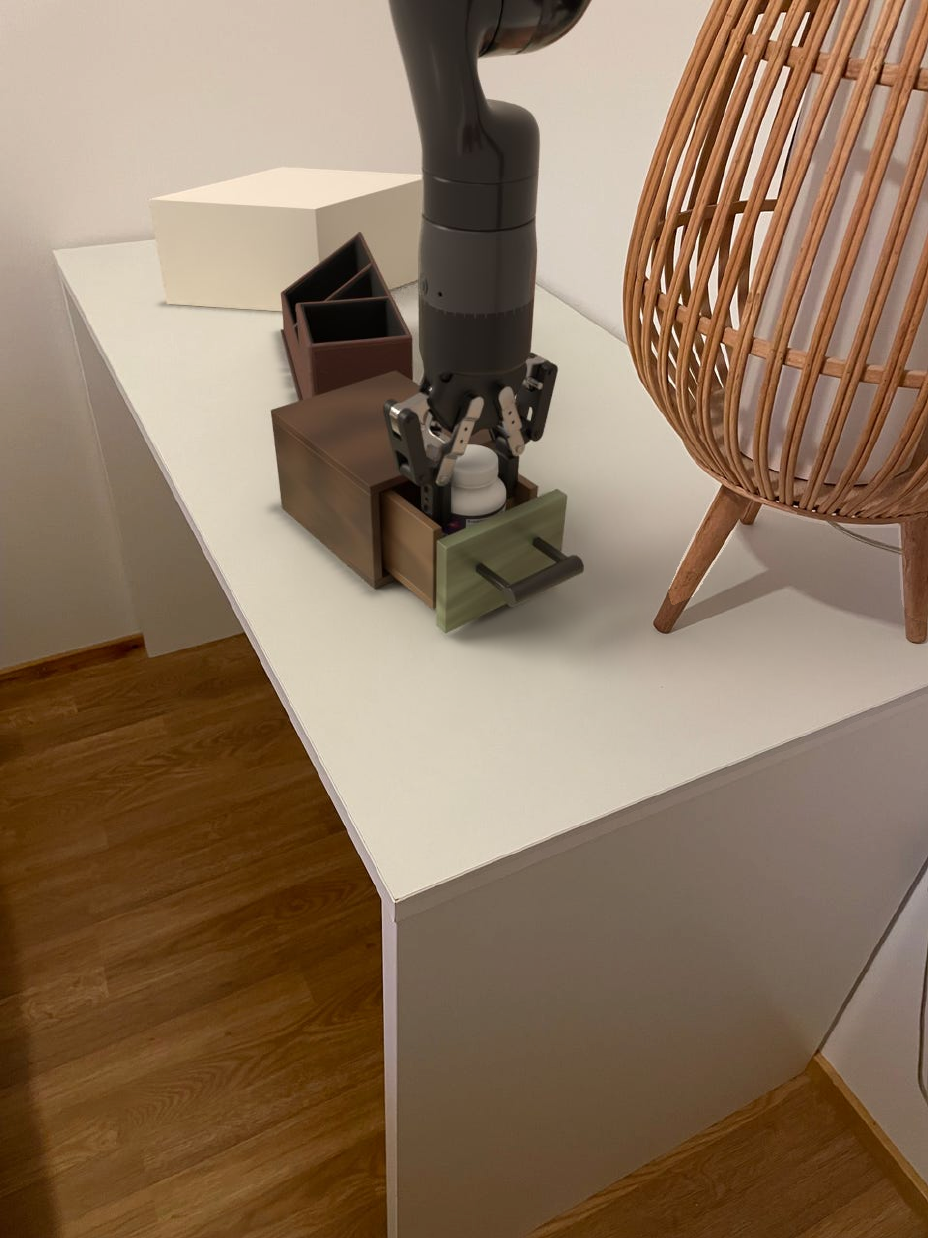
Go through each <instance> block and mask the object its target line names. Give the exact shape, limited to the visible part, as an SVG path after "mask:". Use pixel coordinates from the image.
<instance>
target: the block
mask: <svg viewBox="0 0 928 1238" xmlns="http://www.w3.org/2000/svg"><path fill="white" fill-rule="evenodd" d="M148 206H149V211H150V217H151V222H152V228H153V233H154V238H155V243H156V250H157V256H158V260H159V266H160V267H159V268H160V272H161V273H160V274H161V278H162V284H163V289H164V295H165V301H166V305H178V306H194V307H206V308H207V307H208V308H222V309H223V308H224V309H237V310H238V309H239V310H252V311H253V310H254V311H268V312H269V311H270V312H282V302H281V292H282V291H284V290H285V289H286V288H287V287H289V286H290V285H291V284H293V283H294V282H295V281H297V280H298V279H299V278H301V277H302V276H303V275H305V274H306V273H307V272H309V271H310V270H311V269H313V268H314V267H315V266H316V265H318V264H319V263H320V262H322V261H323V260H324V259H326V258H327V257H328V256H330V255H331V254H332V253H333V252H335V251H336V250H337V249H339V248H340V247H341V246H342V245H344V244H345V243H346V242H347V241H349V240H350V239H351V238H353V237H354V236H355V235H356V234H357V233H358V232H361V233H362V235H363V237H364V239H365V241H366V243H367V245H368V247H369V249H370V252H371V254H372V256H373V258H374V260H375V262H376V264H377V266H378V268H379V271H380V273H381V275H382V277H383V279H384V281H385V283H386V285H387V287H388V289H389V291H391V290H394V289H396V288H399V287H402V286H405V285H407V284H409V283H413V282H416V281H418V246H419V237H420V230H421V217H422V174H416V173H401V172H400V173H399V172H398V173H397V172H396V173H395V172H383V171H382V172H380V171H378V172H377V171H363V170H361V171H360V170H344V169H325V168H309V167H308V168H307V167H289V166H288V167H287V166H280V167H276V168H273V169H269V170H268V169H267V170H264V171H260V172H256V173H251V174H247V175H244V176H243V175H242V176H239V177H235V178H231V179H227V180H223V181H218V182H213V183H210V184H206V185H202V186H198V187H193V188H190V189H185V190H182V191H181V190H180V191H176V192H173V193H169V194H165V195H164V194H163V195H161V196H156V197H153V198H149V199H148Z"/></svg>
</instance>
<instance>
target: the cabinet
mask: <svg viewBox="0 0 928 1238" xmlns="http://www.w3.org/2000/svg"><path fill="white" fill-rule="evenodd" d="M419 386H420V384H418V383H416V382H415V381H414V380H413V381H412V380H410V379H409V378H407V377H405V376H404V375H402V374H401V373H399V372H397V371H392V372H389V373H386V374H383V375H380V376H377V377H373V378H370V379H367V380H364V381H361V382H358V383H354V384H351V385H348V386H345V387H342V388H339V389H336V390H332V391H329V392H326V393H323V394H320V395H317V396H313V397H310V398H307V399H304V400H301V401H298V400H297V401H295V402H291V403H288V404H285V405H282V406H279V407H276V408H272V409H270V415H271V416H270V417H271V425H272V433H273V442H274V450H275V451H274V452H275V459H276V469H277V476H278V485H279V493H280V503H281V509H283V511H285V512H286V513H287V514H288V515H290V516H291V517H292V518H293V519H294V520H295V521H296V522H297V523H299V524H300V526H302V527H303V528H304V529H305V530H307V531H308V532H309V533H310V534H311V535H312V536H314V538H316V540H318V542H320V543H321V544H322V545H324V547H326V548H327V549H328V550H329V551H330V552H332V553H333V554H334V555H335V556H336V557H337V558H338V559H340V560H341V561H342V562H343V563H344V564H345V565H346V566H347V567H348V568H349V569H351V570H352V571H353V572H354V573H355V574H357V575H358V576H359V578H360V577H361V579H362V580H364V581H365V583H367V584H368V585H369V586H370V587H372V589H374V590H377V589H379V588H382V587H384V586H386V585H387V584H390V583H393V582H395V581H398V580H397V579H396V578H395V577H394V576H393V575H392V574H390V573H389V572H388V571H387V570H386V569H384V568H383V567H382V558H381V533H380V508H379V493H378V492H381V491H383V490H386V489H388V488H391V487H394V486H396V485H399V484H401V483H404V482H406V481H409V480H410V479H408V478H407V477H405V476H404V475H403V474H401V473H400V472H399V471H397V469H396V466H395V462H394V457H393V453H392V449H391V444H390V440H389V436H388V431H387V427H386V423H385V418H384V414H383V406H384V404H385V402H386V401H387V400H389V399H395V400H396V401H398V402H400V403H401V402H403V401H405V400H407V399H409V398H410V397H412V396H414V395H416V394H418V389H419ZM428 413H429V411H427V412H426V413H425V416H424V424H425V422H426V419H427V416H428ZM442 431H443V434H444V435H446V436H447V437H449V438H450V439H451V437H452V433H450V432H449V431H447V430H445V429H444V428H443V427H442ZM421 432H422V431H421ZM423 442H424V441H423ZM468 444H472V445H481V446H484V447H487V448H489V449H490V448H492V447H494V446H495V443H493V441H492V439H491V436H490V434H489V431H488V429H482V430H480V431H479V432H477V433H476V434H474V435H473V436H470V438H469V441H468ZM439 458H440V450H439V452H438V455H437V458H436V461H435V462H436V463H437V464H438V461H439Z"/></svg>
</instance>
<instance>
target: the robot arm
mask: <svg viewBox="0 0 928 1238" xmlns="http://www.w3.org/2000/svg"><path fill="white" fill-rule="evenodd" d="M592 1H593V0H387V4H388V10H389V14H390V15H389V16H390V19H391V24H392V27H393V31H394V34H395V39H396V42H397V43H396V44H397V46H398V49H399V53H400V56H401V61H402V64H403V68H404V73H405V76H406V77H405V78H406V81H407V84H408V85H407V86H408V89H409V94H410V99H411V103H412V108H413V111H414V116H415V120H416V124H417V125H416V126H417V129H418V130H417V131H418V135H419V140H420V148H421V149H420V150H421V152H420V153H421V154H420V155H421V156H420V157H421V159H420V160H421V161H420V162H421V163H420V165H421V175H422V217H421V230H420V237H419V246H418V280H417V281H418V282H417V285H418V286H417V287H418V289H417V290H418V291H417V293H418V294H417V295H418V297H417V298H418V299H417V300H418V304H417V305H418V351H419V354H420V358H421V363H422V365H423V375H422V379H421V381H420V383H419V385H420V386H419V389H418V394H416V395H414V396H412V397H410V398H409V399H407V400H405V401H403V402H401V403H400V402H398V401H396V400H395V399H389V400H387V401H386V402H385V404H384V406H383V414H384V418H385V423H386V427H387V431H388V436H389V440H390V444H391V449H392V453H393V457H394V462H395V466H396V469H397V471H399V472H400V473H401V474H403V475H404V476H405V477H407V478H408V479H410V480H411V481H412V482H414V483H415V484H416V485H418V486H421V510H422V512H423V513H424V514H425V515H426V516H428V517H429V518H430V519H432V520H433V521H434V522H435V523H437V524H438V525H439V526H441V527H443V526H445V525H448V524H450V523H451V484H452V483H451V482H449V480H450V477H451V474H452V471H453V468H454V466H455V463H456V460H457V458H458V457H461V456H463V454H464V452H465V450H466V447H467V444H468V441H469V438H470V436H473V435H474V434H476V433H477V432H479V431H480V430H482V429H488V431H489V434H490V436H491V439H492V441H493V443H495V446H494V447H492V448H490V449H491V450H493V451H494V452H495V453H496V455H497V457H498V476H497V477H498V478H499V479H500V480H501V481H502V482H503V484H504V486H505V488H506V500H507V499H510V498H512V497H513V495H514V489H515V488H516V485H517V483H518V473H519V469H520V467H519V466H520V456H521V455H522V454H523V453H524V451H525V448H526V445H527V444H528V443H529V442H530V441H532V442H534V443H537V442H538V441H540V440H542V437H543V436H544V432H545V428H546V424H547V420H548V415H549V411H550V406H551V402H552V398H553V395H554V389H555V385H556V381H557V376H558V371H559V367H558V365H557V364H555V363H553V362H551V361H550V360H549V359H546V358H545V357H543V356H541V355H538V354H536V353H534V352H531V351H532V342H533V341H532V338H533V327H534V326H533V325H534V309H535V292H536V281H537V279H536V278H537V265H538V240H537V239H538V238H537V226H536V225H537V222H536V221H537V216H536V215H537V205H538V203H537V202H538V191H539V190H538V189H539V176H540V175H539V172H540V170H539V169H540V156H541V154H540V153H541V133H540V132H541V131H540V128H539V124H538V122H537V119H536V117H535V115H533V114H532V112H531V111H529V110H528V109H526V108H525V107H523V106H521V105H518V104H516V103H511V102H508V101H503V100H499V99H498V100H497V99H492V98H491V99H490V98H486V95H485V92H484V89H483V87H482V83H481V79H480V76H479V68H478V63H479V62H478V60H480V59H489V58H498V57H506V56H519V55H526V54H532V53H536V52H539V51H541V50H544V49H545V48H549V47H550V46H551V45H553V44H555V43H557V42H558V41H559V40H561V39H562V38H564V37H566V35H567V34H569V33H570V32H571V31H572V30H573V29H574V28H575V27H576V26H577V24H578V23H579V22H581V21H580V20H581V19H582V18H583V16H584V15H585V12H587V10H588V8H589V6H590V4H591V3H592ZM530 409H531V416H530V419H528V417H529V412H530ZM427 411H429V413H428V416H427V419H426V422H425V424H424V416H425V413H426V412H427ZM442 427H443V428H444V429H445V430H447V431H449V432H450V433H452V437H451V439H450V438H449V437H447V436H446V435H444V434H443V431H442ZM421 431H422V432H421ZM423 441H424V442H423ZM439 450H440V458H439V461H438V464H437V463H436V462H435V461H436V458H437V455H438V452H439Z"/></svg>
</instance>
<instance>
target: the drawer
mask: <svg viewBox="0 0 928 1238" xmlns="http://www.w3.org/2000/svg"><path fill="white" fill-rule="evenodd" d="M378 493H379V508H380V533H381V558H382V567H383V568H384V569H386V570H387V571H388V572H389V573H390V574H392V575H393V576H394V577H395V578H396V579H397V580H396V581H399V583H401V584H402V585H403V586H404V587H405V588H407V589H408V590H409V591H410V592H412V593H413V594H414V595H415V596H416V597H417V598H419V599H420V600H421V602H423V603H424V604H426V605H427V606H428V607H429V608H430V609H431V610H435V611H436V612H435V613H436V614H435V615H436V616H435V617H436V619H435V620H436V623H435V624H436V627H438V628H439V629H440V630H441V631H442V632H443V633H444V634H448V633H449V632H452V631H454V630H456V629H458V628H460V627H461V626H464V625H466V624H469V623H470V622H472V621H474V620H476V619H479V618H480V617H482V616H484V615H486V614H489V613H491V612H492V611H494V610H496V609H498V608H501V607H503V606H504V605H507V606H509V608H510V607H511V608H515V607H517V606H519V605H521V604H523V603H525V602H527V601H529V600H531V599H533V598H535V597H538V596H540V595H541V594H543V593H545V592H547V591H550V590H551V589H553V588H555V587H558V586H560V585H561V584H564V583H566V582H567V581H569V580H572V579H574V578H575V577H578V576H580V575H581V574H583V573H584V570H585V566H584V565H585V564H584V563H583V560H582V559H581V557H580V556H578V555H577V554H572V555H570V556H567V555H565V554H564V553H563V552H562V551H563V540H564V533H565V532H564V531H565V523H566V513H567V503H568V495H567V494H566V493H565V492H563V491H562V490H560V489H558V488H555V489H553V490H551V491H549V492H546V493H543V494H542V495H539V494H538V493H539V486H538V485H537V484H536V483H534V482H532V481H531V480H529V479H528V478H527V477H525V476H523V475H522V474H520V473H519V472H518V483H517V485H516V488H515V489H514V495H513V497H512V498H510V499H507V500H506V509H505V511H504V512H502V513H500V514H497V515H495V516H493V517H490V518H488V519H486V520H483V521H481V522H479V523H476V524H474V525H472V526H470V527H467V528H465V529H463V530H460V531H458V532H456V533H453V534H451V535H449V536H446V537H444V538H442V528H441V526H439V525H438V524H437V523H435V522H434V521H433V520H432V519H430V518H429V517H428V516H426V515H425V514H424V513H423V512H422V510H421V486H418V485H416V484H415V483H414V482H412V481H411V480H409V481H406V482H404V483H401V484H399V485H396V486H394V487H391V488H388V489H386V490H383V491H381V492H378ZM538 495H539V496H538Z"/></svg>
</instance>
